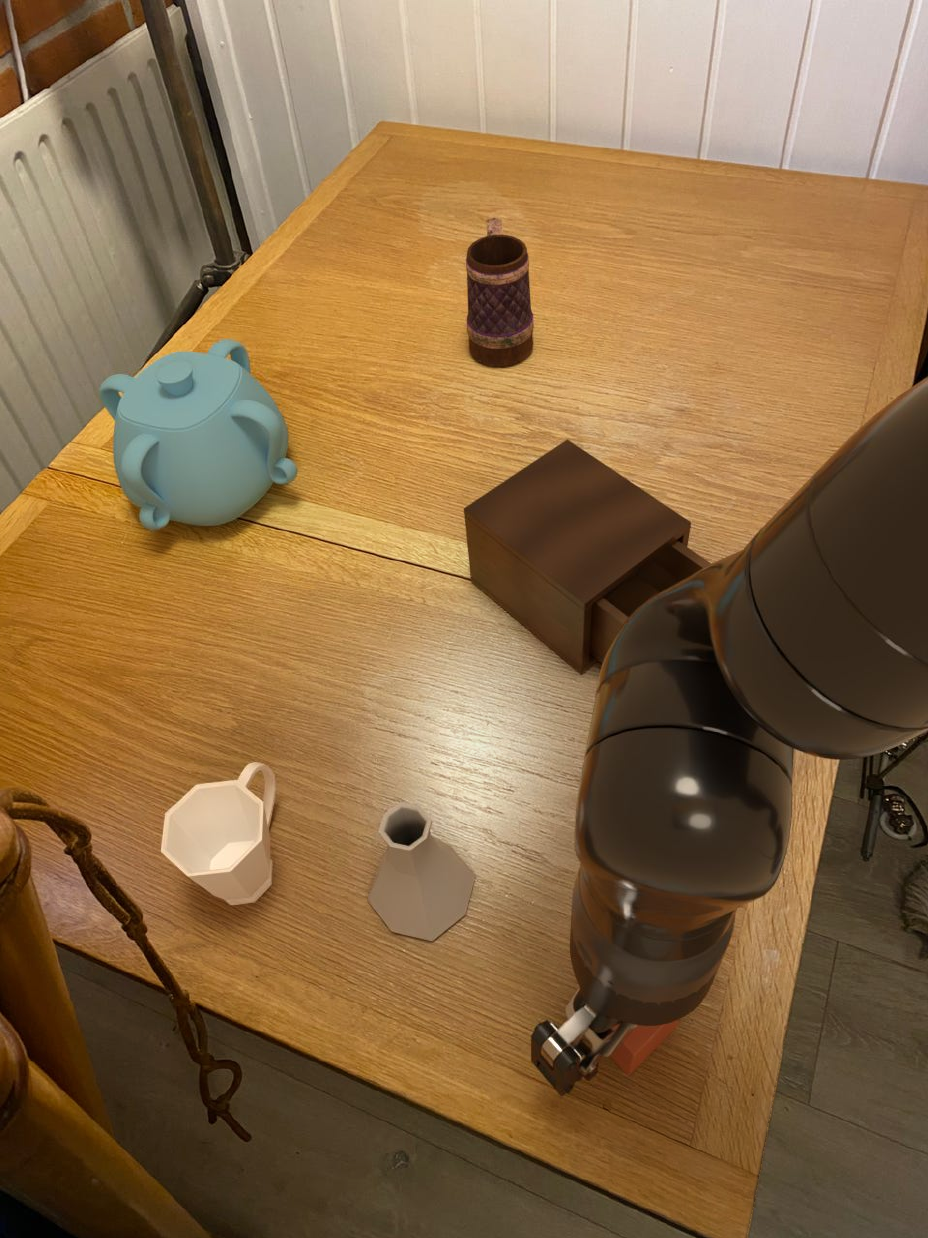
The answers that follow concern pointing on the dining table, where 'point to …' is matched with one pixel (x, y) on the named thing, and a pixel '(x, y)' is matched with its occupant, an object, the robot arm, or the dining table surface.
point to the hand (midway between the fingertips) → (626, 1017)
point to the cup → (224, 836)
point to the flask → (418, 876)
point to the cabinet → (564, 544)
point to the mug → (499, 298)
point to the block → (640, 1045)
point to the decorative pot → (196, 437)
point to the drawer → (639, 593)
